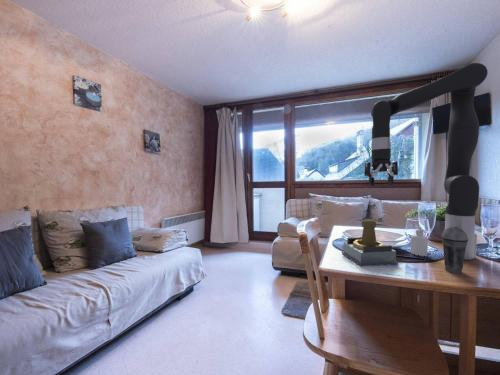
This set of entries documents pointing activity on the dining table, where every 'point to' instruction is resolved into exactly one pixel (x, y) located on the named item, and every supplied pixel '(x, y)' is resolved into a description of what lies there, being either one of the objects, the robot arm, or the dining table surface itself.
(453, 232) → the beverage cup
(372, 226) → the cork
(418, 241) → the eye dropper bottle
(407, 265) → the dining table surface
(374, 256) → the grey peg socket base
